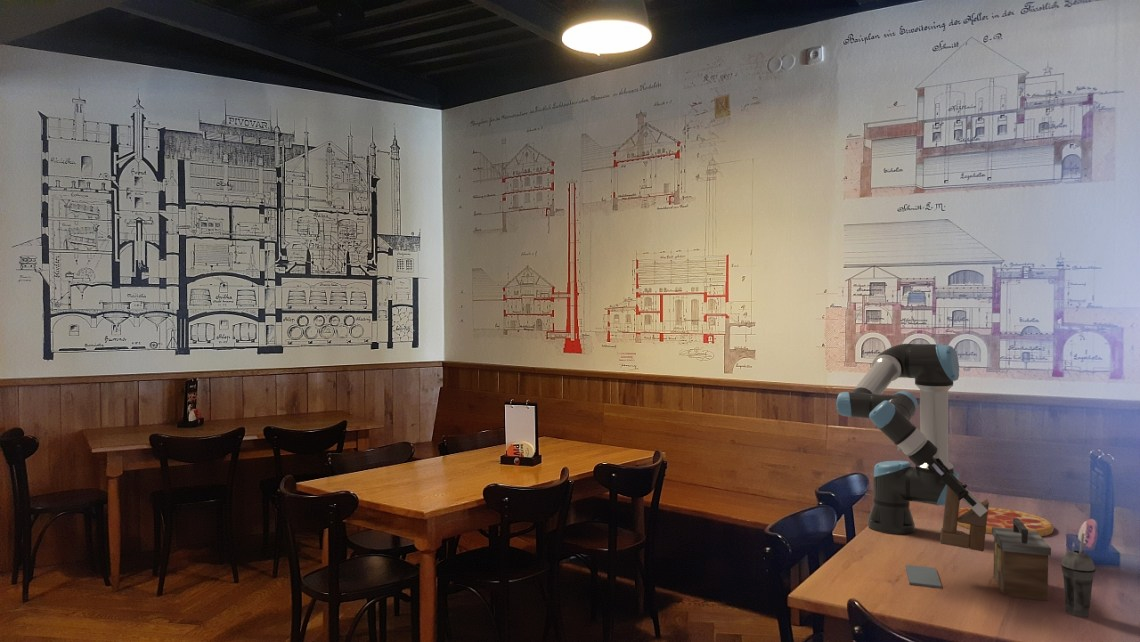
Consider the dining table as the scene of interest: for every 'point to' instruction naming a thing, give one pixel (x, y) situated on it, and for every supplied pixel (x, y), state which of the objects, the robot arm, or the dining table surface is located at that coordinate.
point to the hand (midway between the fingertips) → (982, 511)
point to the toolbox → (1021, 562)
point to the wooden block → (951, 518)
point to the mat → (923, 576)
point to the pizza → (1005, 520)
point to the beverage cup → (1078, 581)
